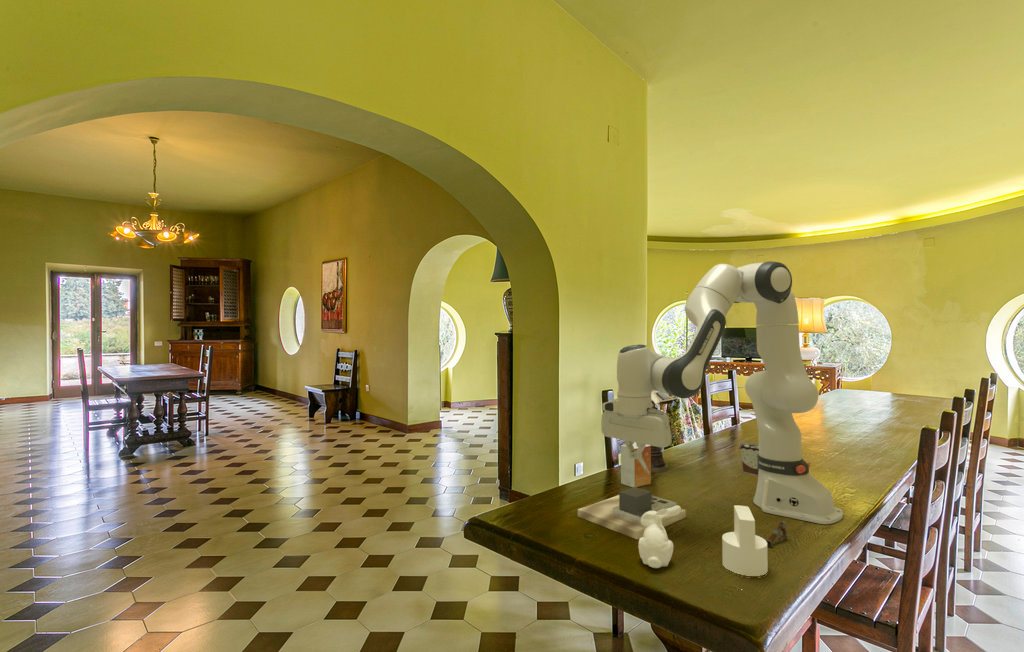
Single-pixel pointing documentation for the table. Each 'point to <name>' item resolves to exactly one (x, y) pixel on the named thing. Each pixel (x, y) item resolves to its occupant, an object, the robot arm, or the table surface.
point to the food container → (749, 457)
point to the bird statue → (656, 454)
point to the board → (604, 517)
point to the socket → (636, 519)
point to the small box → (635, 467)
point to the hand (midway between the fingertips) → (635, 458)
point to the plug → (635, 500)
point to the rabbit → (656, 538)
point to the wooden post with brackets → (776, 533)
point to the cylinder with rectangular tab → (744, 546)
